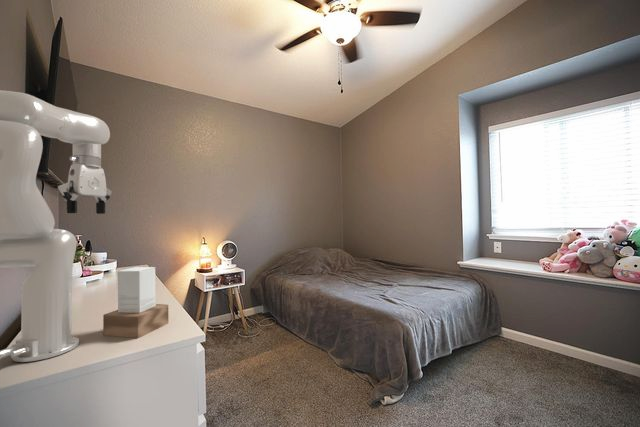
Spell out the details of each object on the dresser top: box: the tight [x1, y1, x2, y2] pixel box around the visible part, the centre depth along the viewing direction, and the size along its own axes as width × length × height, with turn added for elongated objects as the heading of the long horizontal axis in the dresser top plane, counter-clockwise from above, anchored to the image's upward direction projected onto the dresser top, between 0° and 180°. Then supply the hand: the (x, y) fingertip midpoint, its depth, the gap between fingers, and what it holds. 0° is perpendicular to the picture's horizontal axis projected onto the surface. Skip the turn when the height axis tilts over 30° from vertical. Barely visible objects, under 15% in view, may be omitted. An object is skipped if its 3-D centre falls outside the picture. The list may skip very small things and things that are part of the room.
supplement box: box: [117, 266, 157, 313], centre depth 89 cm, size 7×7×13 cm
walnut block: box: [102, 303, 169, 339], centre depth 89 cm, size 12×12×6 cm
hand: (87, 213), depth 97 cm, fingers open, 9 cm apart
